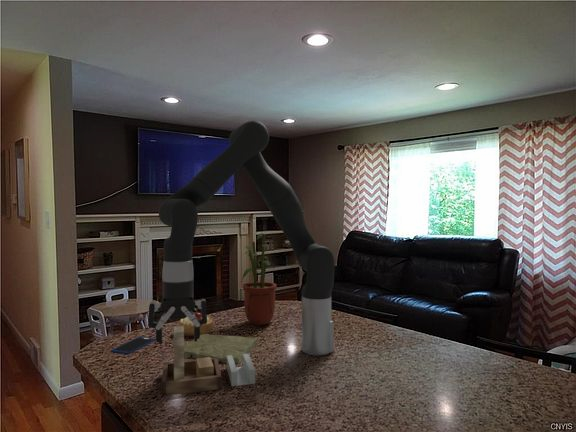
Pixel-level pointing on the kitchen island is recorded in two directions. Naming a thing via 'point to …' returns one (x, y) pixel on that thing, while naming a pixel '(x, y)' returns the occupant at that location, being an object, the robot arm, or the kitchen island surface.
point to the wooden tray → (189, 379)
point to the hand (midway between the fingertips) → (178, 341)
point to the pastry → (190, 326)
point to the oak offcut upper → (204, 367)
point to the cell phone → (133, 345)
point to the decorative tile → (219, 347)
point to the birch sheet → (178, 352)
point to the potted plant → (259, 290)
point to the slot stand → (241, 371)
